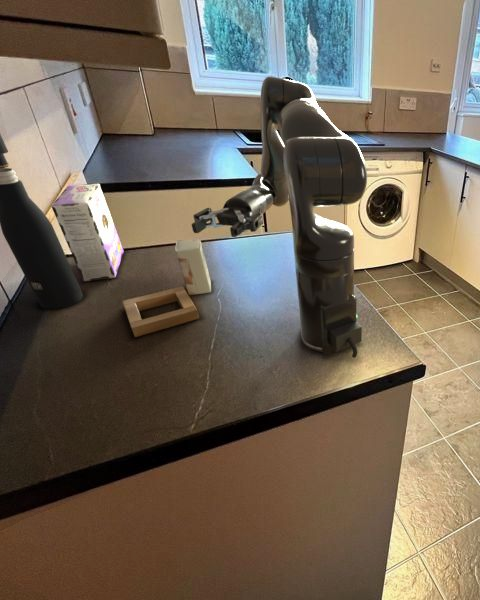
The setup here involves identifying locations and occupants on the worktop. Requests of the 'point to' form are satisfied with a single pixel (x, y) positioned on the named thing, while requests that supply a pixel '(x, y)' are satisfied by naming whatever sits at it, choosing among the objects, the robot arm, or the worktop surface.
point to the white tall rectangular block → (193, 266)
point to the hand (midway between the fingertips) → (213, 231)
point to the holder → (161, 320)
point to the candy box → (89, 231)
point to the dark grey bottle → (34, 243)
